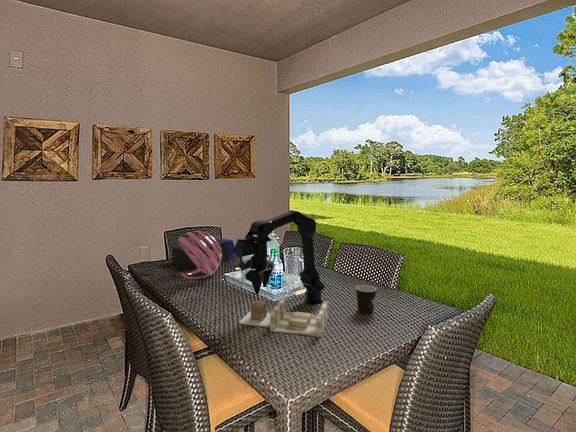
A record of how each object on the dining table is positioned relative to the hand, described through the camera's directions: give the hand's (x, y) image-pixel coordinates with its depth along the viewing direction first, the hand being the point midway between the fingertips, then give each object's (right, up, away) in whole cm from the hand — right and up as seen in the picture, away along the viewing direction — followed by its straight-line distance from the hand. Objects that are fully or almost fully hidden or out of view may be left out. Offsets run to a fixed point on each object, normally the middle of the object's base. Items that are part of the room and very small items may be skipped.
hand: (260, 290), depth 140 cm
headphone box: (-46, -1, +96) cm, 107 cm away
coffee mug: (+46, -11, +9) cm, 48 cm away
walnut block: (-1, -11, 0) cm, 11 cm away
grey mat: (-1, -12, 0) cm, 12 cm away
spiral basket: (-40, -5, +61) cm, 73 cm away
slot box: (+16, -12, -5) cm, 21 cm away
